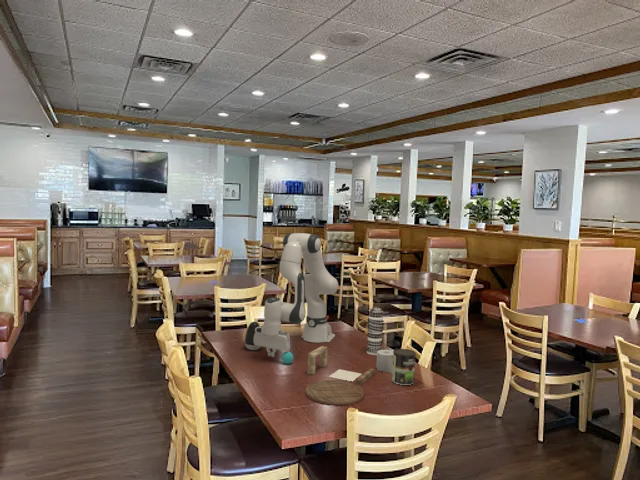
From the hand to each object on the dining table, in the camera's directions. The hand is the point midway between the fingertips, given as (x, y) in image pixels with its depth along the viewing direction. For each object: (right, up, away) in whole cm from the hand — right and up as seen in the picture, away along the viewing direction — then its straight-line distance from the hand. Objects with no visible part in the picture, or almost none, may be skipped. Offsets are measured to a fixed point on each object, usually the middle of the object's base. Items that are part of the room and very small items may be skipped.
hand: (271, 356), depth 246 cm
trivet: (+31, -7, -41) cm, 52 cm away
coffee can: (+64, -6, -23) cm, 68 cm away
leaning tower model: (+55, -3, +20) cm, 59 cm away
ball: (+9, 0, -4) cm, 10 cm away
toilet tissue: (+59, -5, -8) cm, 59 cm away
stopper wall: (+46, -5, -22) cm, 52 cm away
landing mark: (+37, -5, -18) cm, 42 cm away
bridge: (+24, -4, -11) cm, 27 cm away
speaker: (-12, -1, +18) cm, 22 cm away
